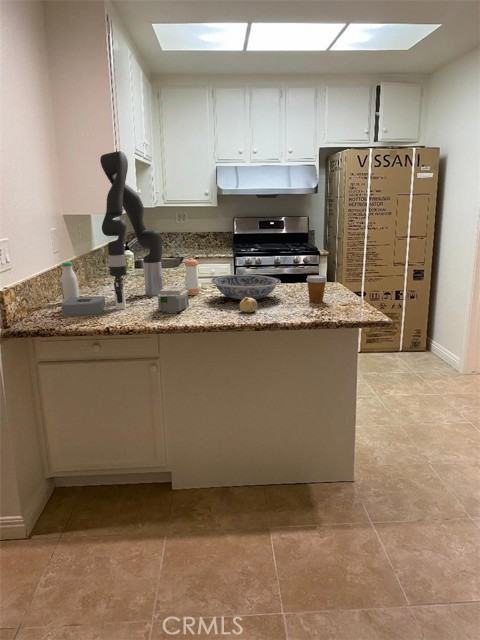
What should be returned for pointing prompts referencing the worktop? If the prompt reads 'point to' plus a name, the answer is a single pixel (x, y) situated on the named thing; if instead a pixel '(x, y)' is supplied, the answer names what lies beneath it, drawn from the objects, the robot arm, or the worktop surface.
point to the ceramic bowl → (245, 286)
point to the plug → (123, 304)
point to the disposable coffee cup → (316, 288)
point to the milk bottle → (69, 282)
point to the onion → (248, 305)
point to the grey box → (173, 299)
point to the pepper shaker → (191, 277)
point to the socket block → (83, 306)
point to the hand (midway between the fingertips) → (120, 301)
